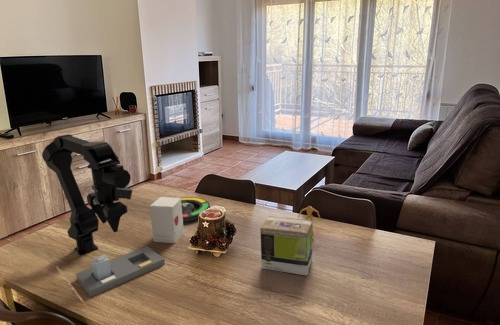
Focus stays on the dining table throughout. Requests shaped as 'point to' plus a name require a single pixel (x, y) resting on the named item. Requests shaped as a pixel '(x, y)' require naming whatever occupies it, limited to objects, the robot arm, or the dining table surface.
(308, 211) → the figurine
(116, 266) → the panel
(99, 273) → the plug
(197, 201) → the electronic game
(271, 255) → the tea box
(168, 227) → the supplement box
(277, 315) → the dining table surface
